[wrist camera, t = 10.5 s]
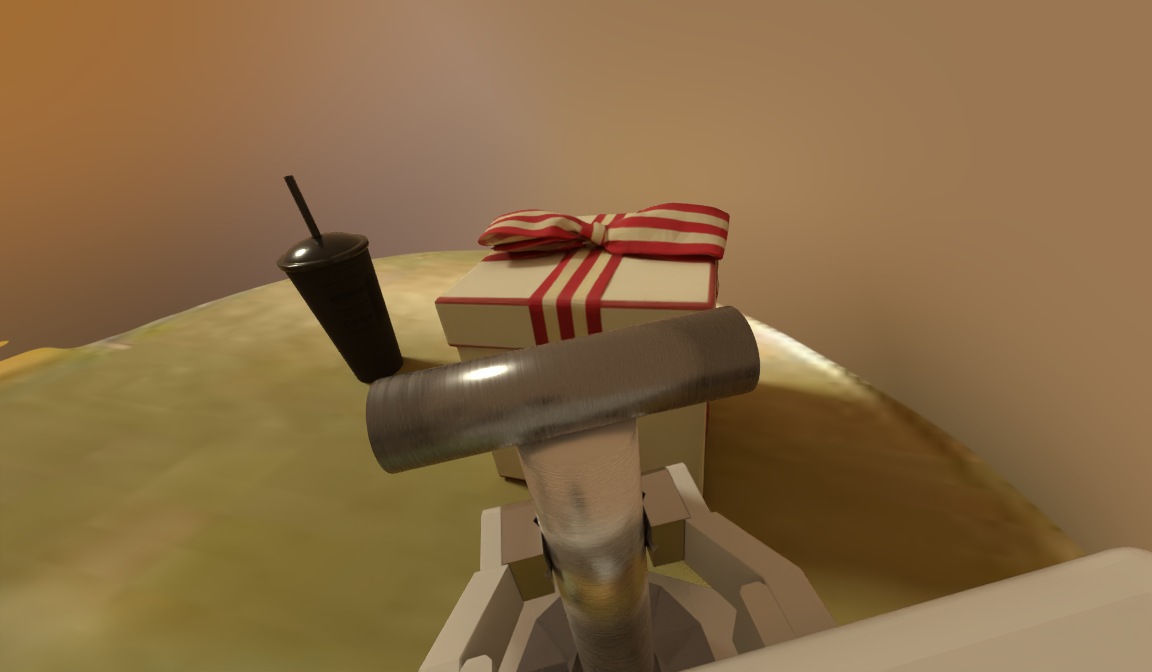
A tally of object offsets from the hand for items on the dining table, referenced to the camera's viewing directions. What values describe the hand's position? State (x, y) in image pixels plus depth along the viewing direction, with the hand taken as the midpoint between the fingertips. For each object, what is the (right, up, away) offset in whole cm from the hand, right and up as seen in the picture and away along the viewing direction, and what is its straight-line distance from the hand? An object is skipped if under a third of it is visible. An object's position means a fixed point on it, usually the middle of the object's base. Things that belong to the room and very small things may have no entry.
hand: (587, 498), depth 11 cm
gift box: (+2, -2, +24) cm, 24 cm away
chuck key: (+1, -7, +4) cm, 8 cm away
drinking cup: (-22, +1, +34) cm, 40 cm away
